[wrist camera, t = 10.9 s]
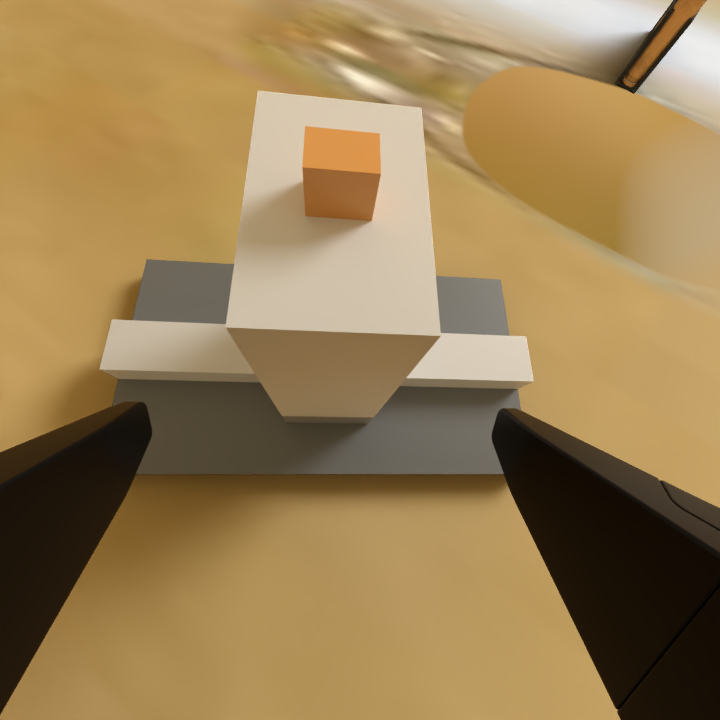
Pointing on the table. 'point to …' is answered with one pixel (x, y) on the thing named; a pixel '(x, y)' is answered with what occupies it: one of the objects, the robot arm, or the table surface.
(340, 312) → the block
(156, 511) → the table surface
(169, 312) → the mounting board
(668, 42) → the ammunition clip
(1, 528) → the robot arm
